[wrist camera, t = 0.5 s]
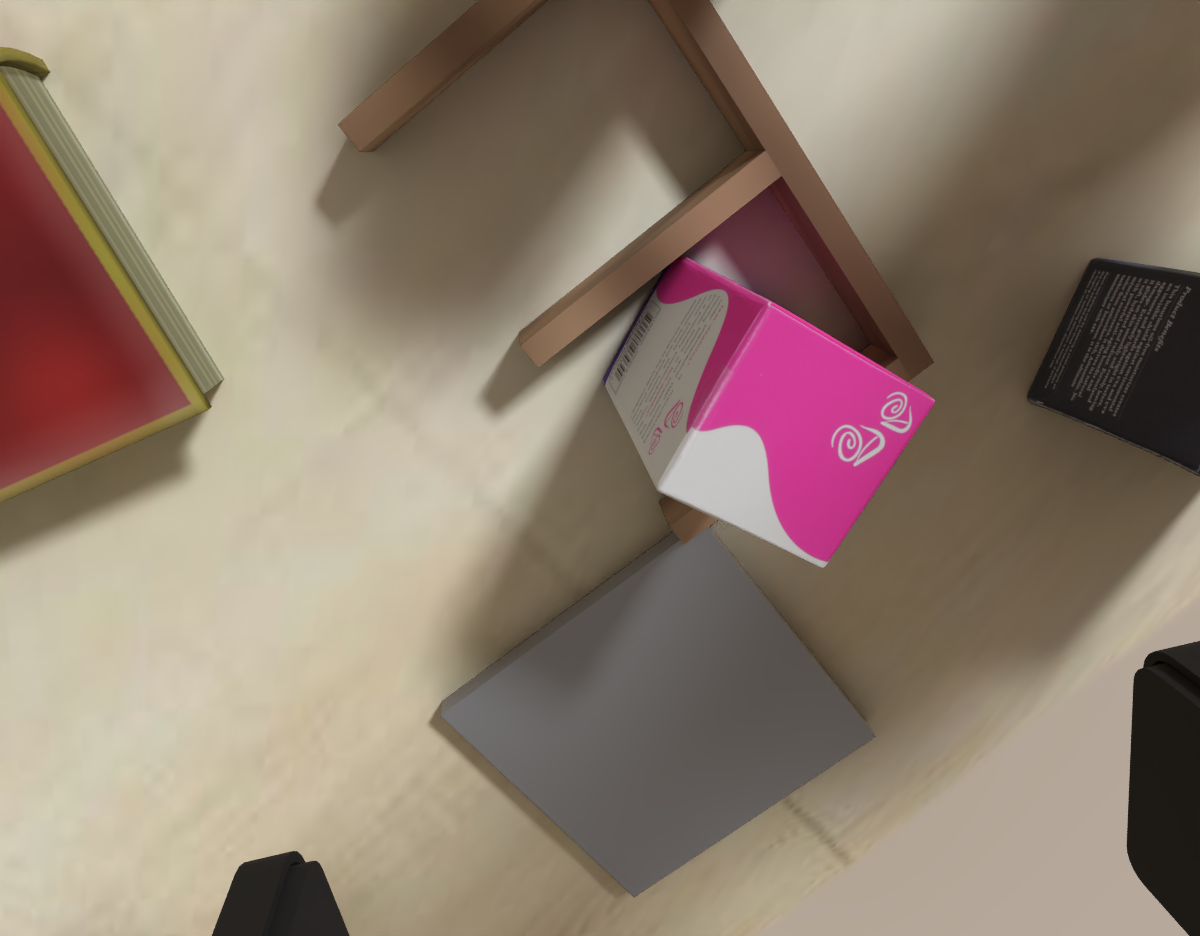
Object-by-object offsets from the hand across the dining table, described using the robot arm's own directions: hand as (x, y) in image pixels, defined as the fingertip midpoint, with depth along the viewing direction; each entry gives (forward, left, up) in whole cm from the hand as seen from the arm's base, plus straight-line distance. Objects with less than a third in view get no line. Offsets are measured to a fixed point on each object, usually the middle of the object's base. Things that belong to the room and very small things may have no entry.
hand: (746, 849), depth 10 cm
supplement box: (-4, +3, -25) cm, 25 cm away
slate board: (+7, +15, -25) cm, 30 cm away
